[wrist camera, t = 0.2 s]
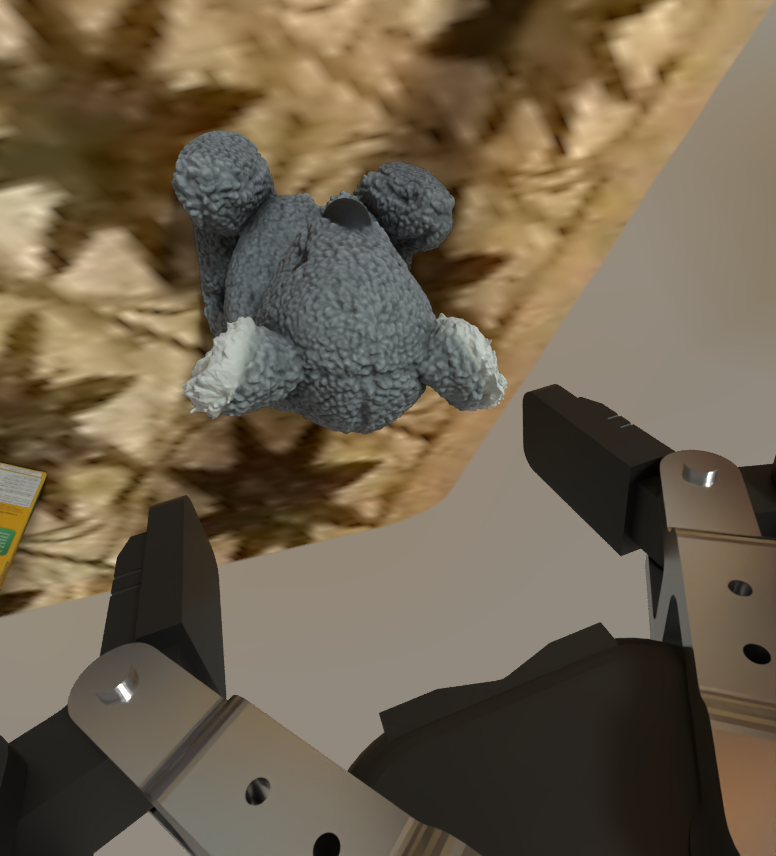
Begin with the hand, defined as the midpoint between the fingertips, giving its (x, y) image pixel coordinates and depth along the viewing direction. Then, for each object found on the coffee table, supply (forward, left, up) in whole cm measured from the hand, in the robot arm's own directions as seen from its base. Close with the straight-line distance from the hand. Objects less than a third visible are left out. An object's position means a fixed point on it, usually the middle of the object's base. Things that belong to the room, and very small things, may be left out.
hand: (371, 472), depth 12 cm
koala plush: (+3, +3, -29) cm, 29 cm away
